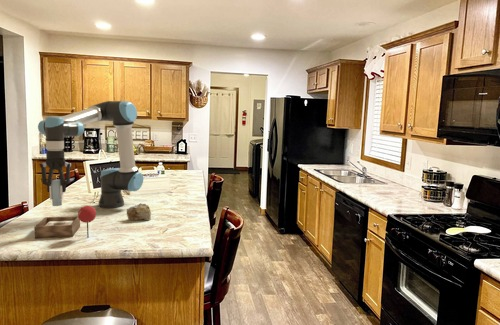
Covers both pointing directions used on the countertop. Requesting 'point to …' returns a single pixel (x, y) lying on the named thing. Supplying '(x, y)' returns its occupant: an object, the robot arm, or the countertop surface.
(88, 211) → the lollipop
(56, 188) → the peg
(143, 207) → the rock
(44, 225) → the box
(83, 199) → the countertop surface
